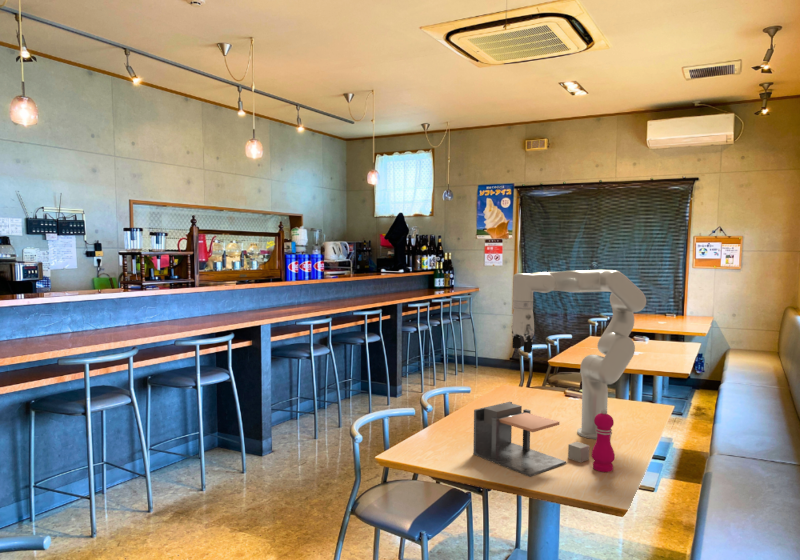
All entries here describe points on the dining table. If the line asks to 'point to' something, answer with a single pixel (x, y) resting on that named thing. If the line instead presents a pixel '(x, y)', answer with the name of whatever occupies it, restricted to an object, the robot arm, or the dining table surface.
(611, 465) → the pepper mill
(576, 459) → the light grey cube
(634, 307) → the robot arm
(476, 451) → the frame
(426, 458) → the dining table surface
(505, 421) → the trapdoor
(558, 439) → the dining table surface
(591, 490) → the dining table surface
